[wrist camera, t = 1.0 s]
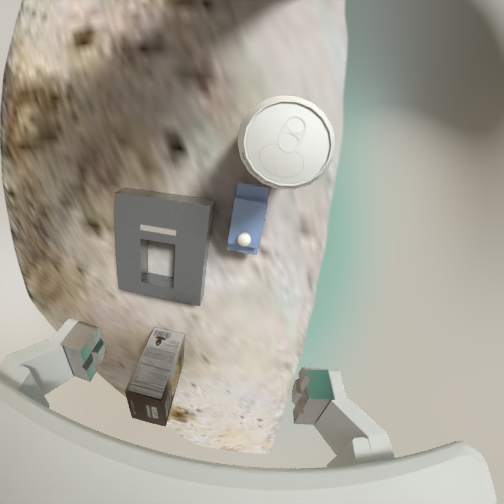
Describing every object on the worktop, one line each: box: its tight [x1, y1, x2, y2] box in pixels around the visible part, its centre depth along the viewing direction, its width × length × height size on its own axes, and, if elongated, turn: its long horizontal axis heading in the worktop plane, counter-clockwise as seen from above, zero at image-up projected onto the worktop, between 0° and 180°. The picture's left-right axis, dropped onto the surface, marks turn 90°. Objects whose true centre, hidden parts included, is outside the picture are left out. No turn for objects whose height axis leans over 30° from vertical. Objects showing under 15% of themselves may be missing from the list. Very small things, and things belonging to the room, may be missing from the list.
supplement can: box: [237, 95, 335, 189], centre depth 27 cm, size 8×8×15 cm
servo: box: [227, 182, 270, 255], centre depth 36 cm, size 9×4×6 cm, turn 170°
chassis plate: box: [115, 188, 214, 306], centre depth 39 cm, size 16×14×3 cm
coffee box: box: [125, 327, 185, 426], centre depth 43 cm, size 9×6×16 cm
